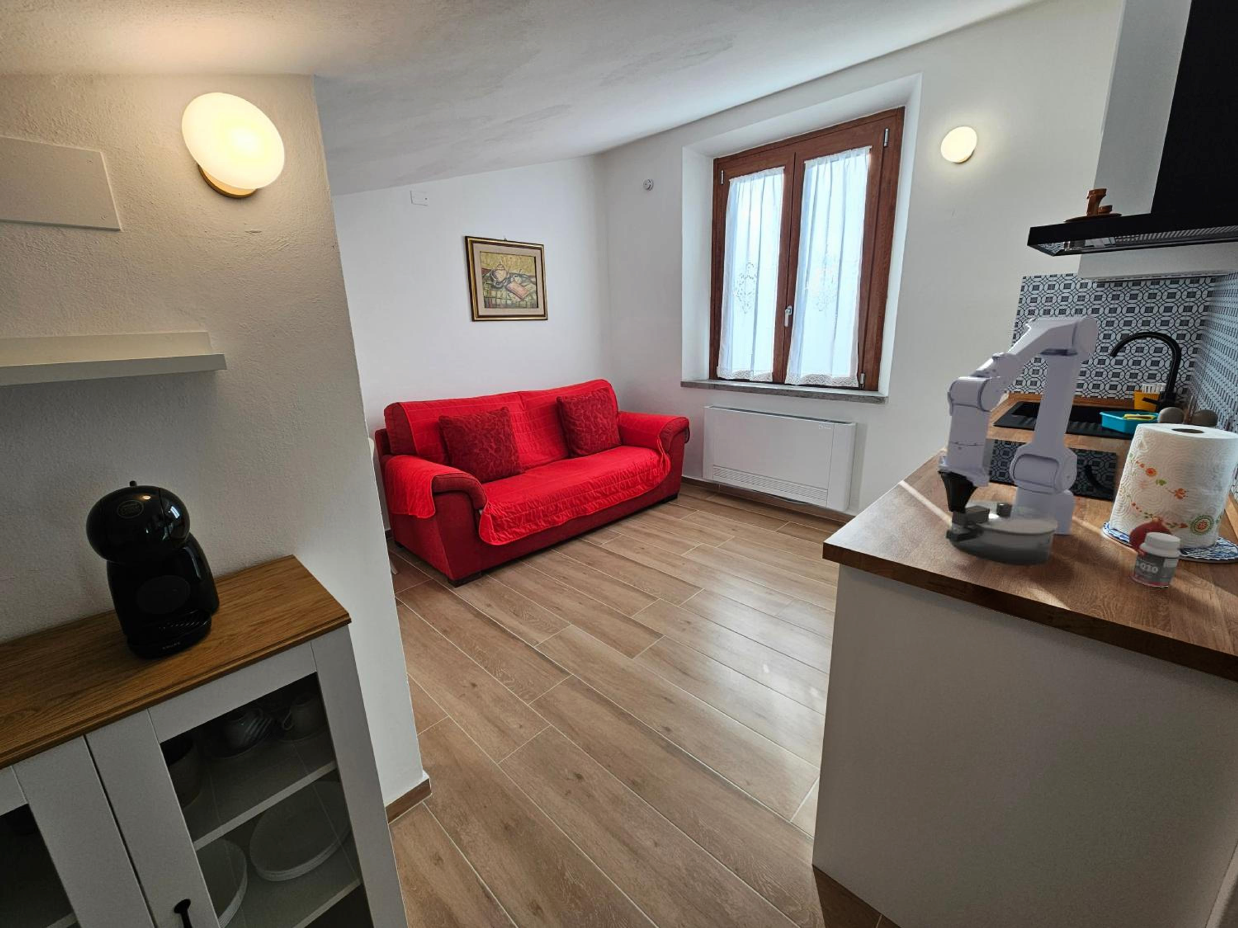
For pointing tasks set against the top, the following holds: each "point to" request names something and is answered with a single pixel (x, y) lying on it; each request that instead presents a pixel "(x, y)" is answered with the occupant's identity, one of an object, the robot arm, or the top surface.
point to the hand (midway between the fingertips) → (955, 511)
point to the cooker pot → (1001, 545)
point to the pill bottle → (1157, 560)
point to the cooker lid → (1004, 518)
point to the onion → (1141, 531)
